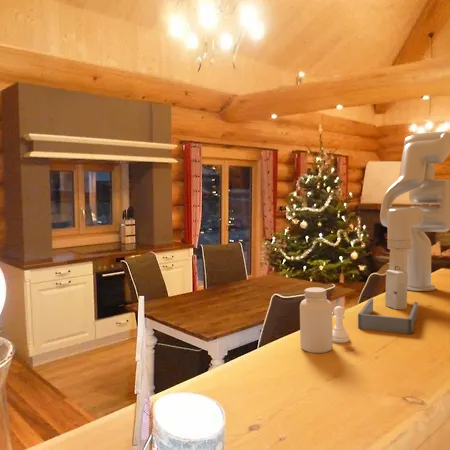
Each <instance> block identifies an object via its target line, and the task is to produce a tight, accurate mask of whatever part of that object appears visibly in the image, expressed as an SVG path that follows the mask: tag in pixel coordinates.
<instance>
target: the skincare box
mask: <svg viewBox="0 0 450 450" xmlns="http://www.w3.org/2000/svg"><path fill="white" fill-rule="evenodd" d="M407 284H408V273H407V272H404V271H401V270H396V269H395V270H389V269H387V270H385V292H384V293H385V295H384V297H385V298H384V299H385V301H384V306H386V307H388V308H390V307H391V309H394V310H396V309H399V310H405V309H407V308H408V307H407V306H408V305H407V304H408V303H407V302H408V290H407Z"/></svg>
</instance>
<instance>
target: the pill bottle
mask: <svg viewBox="0 0 450 450" xmlns="http://www.w3.org/2000/svg"><path fill="white" fill-rule="evenodd" d="M327 298H328V297H327V289H325V288H324V287H318V286H317V287H315V286H314V287H308V288H305V289H304V299H302V300H301V302H300V304H299V325H300V326H299V328H300V329H299V331H300V333H299V335H300V336H299V337H300V338H299V339H300V348H301V349H302V350H304V351H305V352H309V353H314V354H321V353H322V354H323V353H327V352H330V351H331V350H332V349H333V344H334V343H333V336H332V331H333V304H332V303H331V301H330V300H329V299H327Z"/></svg>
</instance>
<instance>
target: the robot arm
mask: <svg viewBox="0 0 450 450" xmlns="http://www.w3.org/2000/svg"><path fill="white" fill-rule="evenodd" d="M449 155H450V132H448V131H437V132H436V131H435V132H424V133H416V134H415V133H414V134H411V135H407V137H405V139H404V140H403V150H402V155H401V161H400V167H399V174H398V179H397V180H396V181H395V182H394V183H393V184H392V185H391V186H389V188H388V189H387V190H386V191H385V193H384V195H383V197H382V200H381V205H380V206H381V207H380V211H379V212H380V213H379V220H380V223H381V225H382V226H383V227H386V228H387V241H386V242H387V243H386V244H387V249H388V250H389V261H388V263H389V265H388V270H395V269H396V270H401V271H404V272H407V273H408V284H407V291H411V292H412V291H413V292H430V291H434V290H436V285H435V284H434V283H432V242H431V240H430V238H429V237H428V235H427V234H426V233H427V232H428V233H430V232H431V233H432V232H433V233H434V232H435V233H445V232H448V231H450V179H448V178H447V179H446V178H438V179H437V178H436V179H435V174H436V172H435V171H436V169H435V166H434V164H441V163H443V162H445V160H447V158H448V156H449ZM406 193H408V199H409V201H410V202H411V203H413V204H415V206H405V205H404V206H396V205H395V206H393V203H394V201H395V200H396V199H397V198H398V197H400V196H401V195H403V194H406ZM416 204H417V205H418V206H417V205H416ZM419 205H421V206H419ZM422 205H424V206H422ZM427 205H431V206H427ZM432 205H438V206H432ZM425 232H426V233H425Z"/></svg>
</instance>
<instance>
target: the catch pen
mask: <svg viewBox="0 0 450 450" xmlns="http://www.w3.org/2000/svg"><path fill="white" fill-rule="evenodd" d="M412 305H413V306H412V308H411V311H410V313H409V316H408V318H407V317H396V316H395V317H394V316H388V315H387V316H386V315H376V314H375V315H374V314H372V313H373V312H374V298H372V297H370V298H369V299H368V301H367V302H366V304H365V305H364V306H363V307H362V309H361V310H360V311H359V312H358V314H357V328H358V329H361V330H363V329H364V330H372V331H380V332H390V333H396V334H397V333H398V334H405V335H406V334H407V335H412V333H413V330H414V327H415V324H416V320H417V318H418V306H419V305H418V301H414V303H413V304H412ZM372 311H373V312H372ZM370 314H371V315H370Z"/></svg>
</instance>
